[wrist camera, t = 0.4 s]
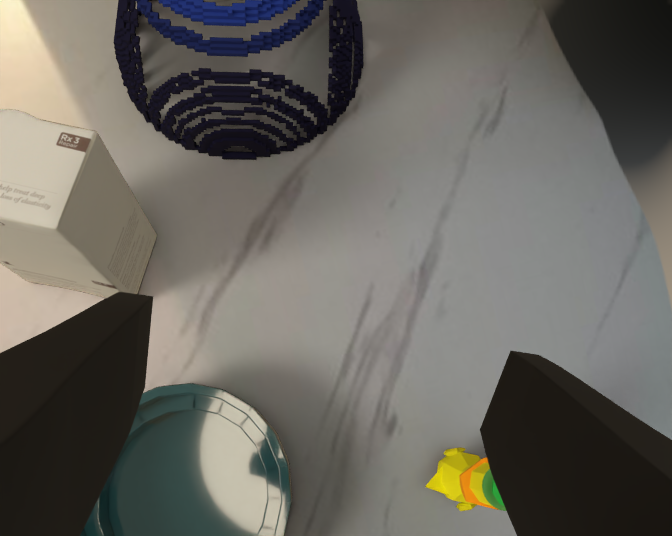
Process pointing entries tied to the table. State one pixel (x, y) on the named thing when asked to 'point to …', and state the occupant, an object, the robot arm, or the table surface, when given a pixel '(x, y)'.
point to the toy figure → (466, 480)
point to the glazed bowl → (195, 470)
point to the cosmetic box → (68, 209)
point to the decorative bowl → (239, 73)
